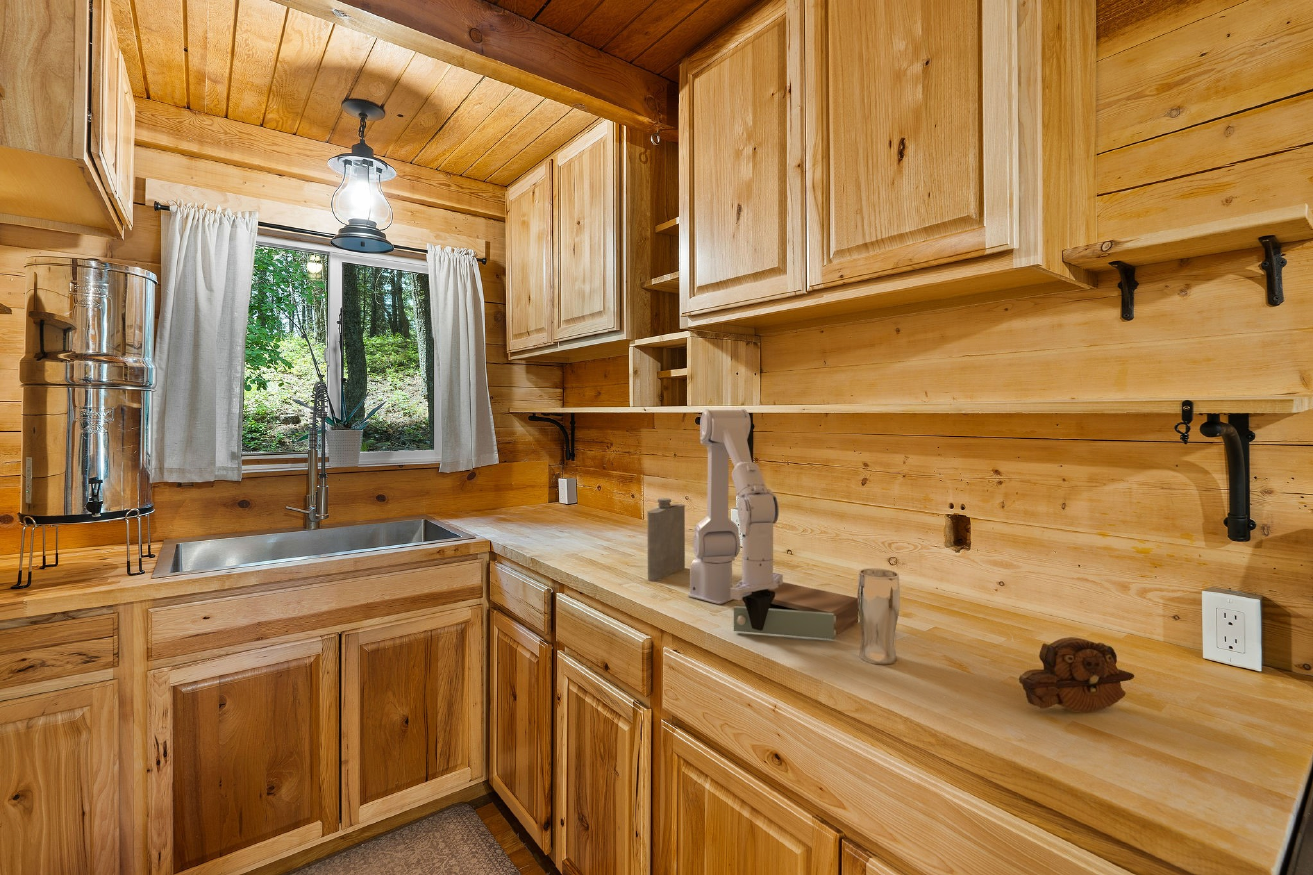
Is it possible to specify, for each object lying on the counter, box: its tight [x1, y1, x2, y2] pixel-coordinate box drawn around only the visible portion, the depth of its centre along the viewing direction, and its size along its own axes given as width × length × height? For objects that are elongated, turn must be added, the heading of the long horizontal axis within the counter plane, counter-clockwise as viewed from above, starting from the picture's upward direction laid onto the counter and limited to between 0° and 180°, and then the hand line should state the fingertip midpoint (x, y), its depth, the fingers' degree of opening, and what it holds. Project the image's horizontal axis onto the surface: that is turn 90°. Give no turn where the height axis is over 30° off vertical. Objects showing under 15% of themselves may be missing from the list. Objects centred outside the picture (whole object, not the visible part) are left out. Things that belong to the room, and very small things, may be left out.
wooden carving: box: [1018, 636, 1135, 713], centre depth 89 cm, size 16×5×10 cm, turn 101°
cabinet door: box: [733, 605, 837, 640], centre depth 118 cm, size 19×2×5 cm, turn 76°
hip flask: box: [646, 497, 686, 582], centre depth 165 cm, size 16×4×20 cm, turn 148°
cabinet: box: [768, 581, 859, 636], centre depth 128 cm, size 18×12×5 cm, turn 47°
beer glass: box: [856, 567, 901, 666], centre depth 108 cm, size 7×7×15 cm
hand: (757, 629), depth 117 cm, fingers closed
